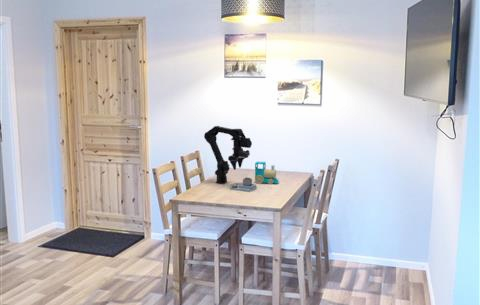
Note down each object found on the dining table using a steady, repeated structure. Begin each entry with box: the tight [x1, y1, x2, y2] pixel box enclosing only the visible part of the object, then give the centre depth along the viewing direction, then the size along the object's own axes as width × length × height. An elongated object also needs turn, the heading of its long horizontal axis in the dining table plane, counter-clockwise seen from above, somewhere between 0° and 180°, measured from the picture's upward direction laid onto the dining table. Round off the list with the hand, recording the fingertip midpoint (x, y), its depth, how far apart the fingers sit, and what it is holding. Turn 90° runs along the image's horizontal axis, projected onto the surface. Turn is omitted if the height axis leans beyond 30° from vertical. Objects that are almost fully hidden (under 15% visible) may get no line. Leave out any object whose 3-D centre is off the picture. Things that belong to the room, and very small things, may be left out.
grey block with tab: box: [242, 176, 253, 186], centre depth 318 cm, size 5×4×7 cm
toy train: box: [254, 161, 280, 185], centre depth 338 cm, size 8×17×15 cm, turn 76°
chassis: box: [229, 183, 257, 193], centre depth 319 cm, size 15×11×3 cm
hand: (237, 168), depth 329 cm, fingers open, 9 cm apart
